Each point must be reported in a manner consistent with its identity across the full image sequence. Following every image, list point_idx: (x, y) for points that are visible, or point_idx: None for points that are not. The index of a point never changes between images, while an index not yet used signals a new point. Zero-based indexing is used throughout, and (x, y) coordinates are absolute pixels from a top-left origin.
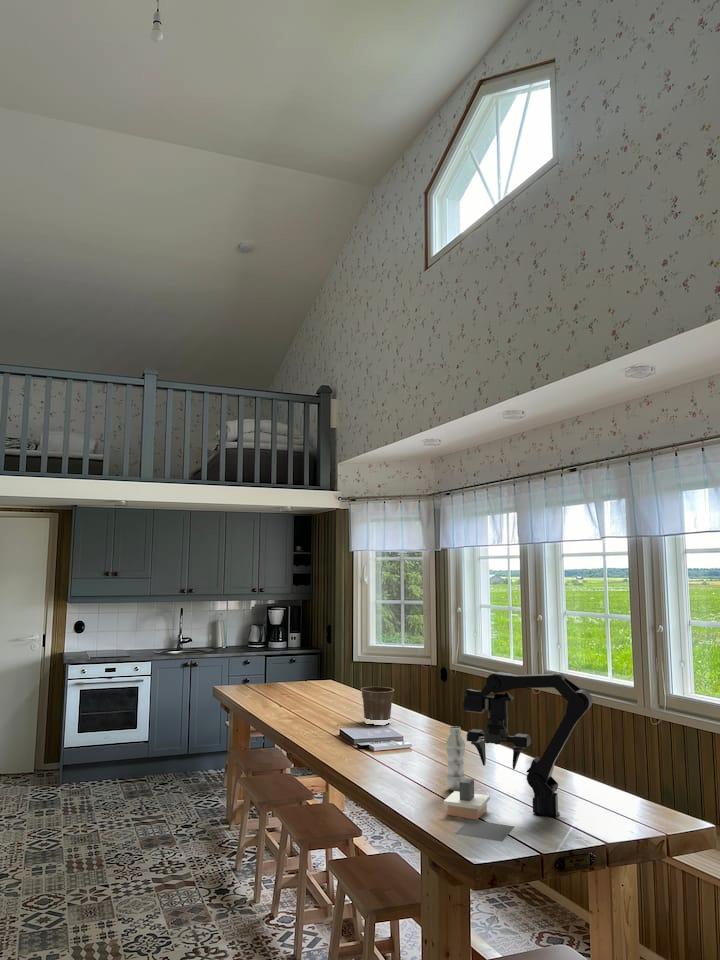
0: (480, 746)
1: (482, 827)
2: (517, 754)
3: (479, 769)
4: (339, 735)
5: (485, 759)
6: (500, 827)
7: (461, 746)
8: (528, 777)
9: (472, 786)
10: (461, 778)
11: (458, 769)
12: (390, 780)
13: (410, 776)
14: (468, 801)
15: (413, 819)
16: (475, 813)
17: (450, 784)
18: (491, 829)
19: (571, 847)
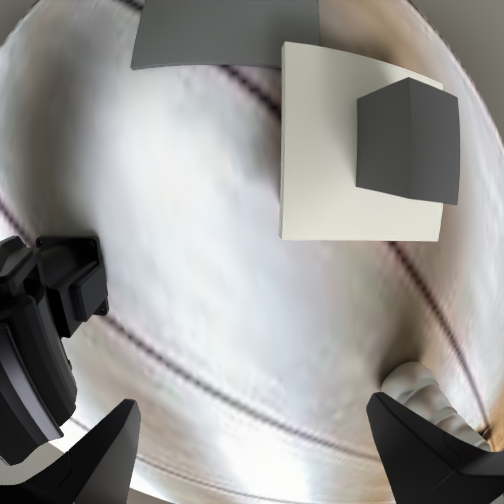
0: (486, 475)
1: (247, 8)
2: (37, 476)
3: (338, 481)
4: (486, 441)
5: (377, 439)
6: (180, 31)
7: None
8: (15, 299)
9: (389, 152)
10: (403, 396)
11: (425, 409)
12: (498, 348)
13: (465, 390)
14: (360, 94)
15: (457, 71)
16: None
17: (424, 367)
18: (210, 3)
19: (4, 48)
